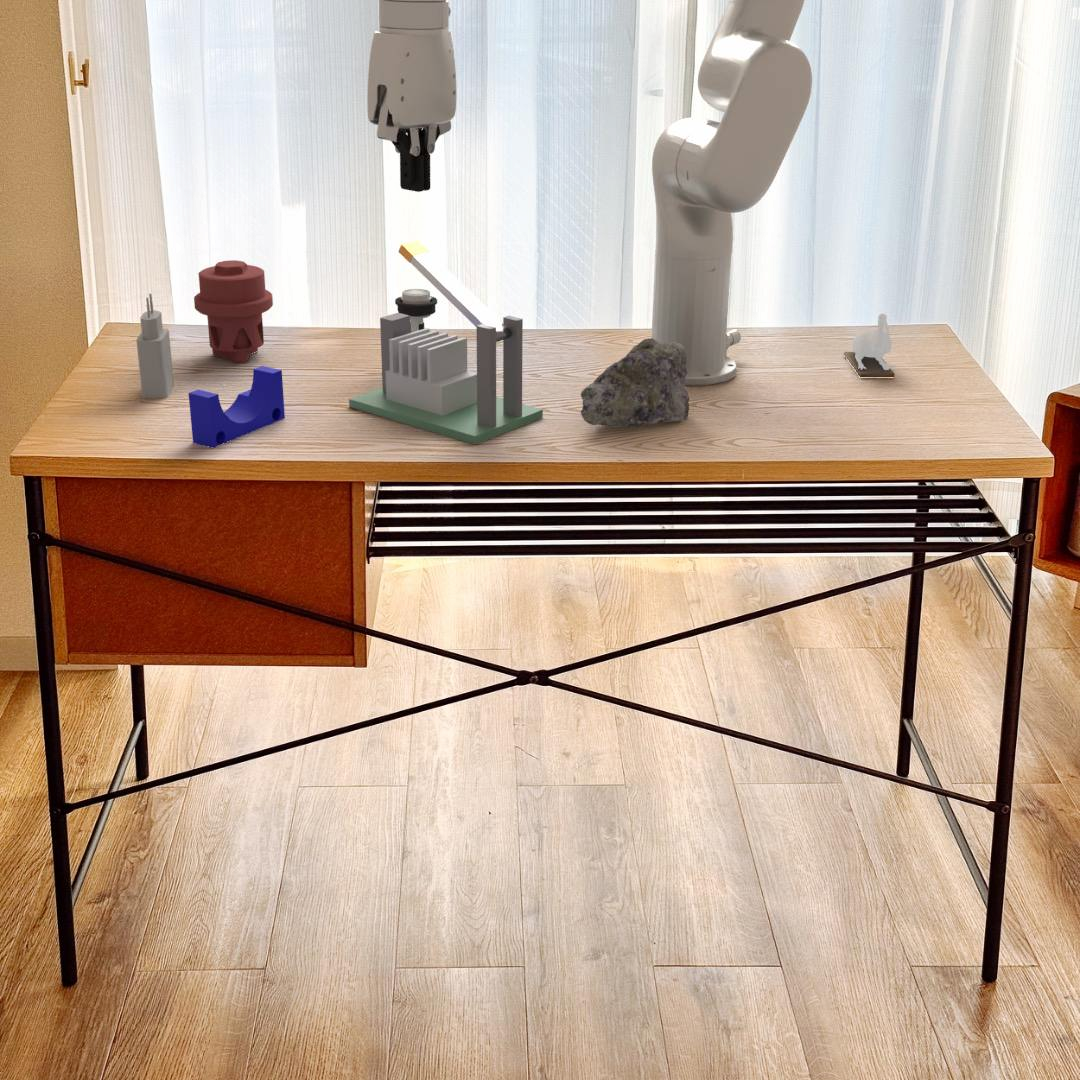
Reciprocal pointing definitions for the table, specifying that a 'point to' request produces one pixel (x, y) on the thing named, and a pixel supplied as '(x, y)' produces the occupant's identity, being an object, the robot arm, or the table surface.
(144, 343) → the power adapter
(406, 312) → the push button
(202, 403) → the blue cradle bracket
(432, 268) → the hinged grey bar
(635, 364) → the mineral rock
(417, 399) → the board
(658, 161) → the robot arm
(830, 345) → the table surface
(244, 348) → the mechanical component
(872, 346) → the figurine
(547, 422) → the table surface
